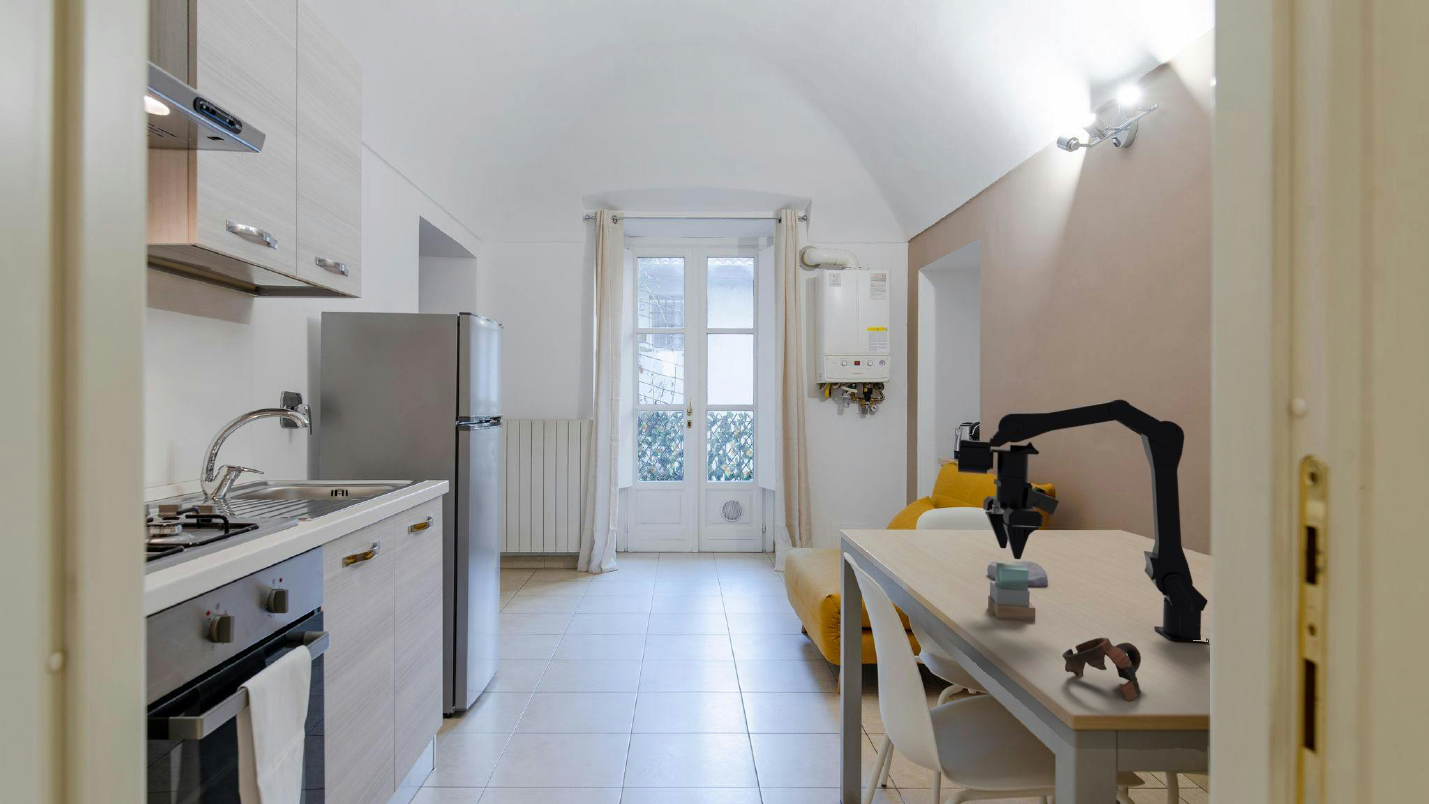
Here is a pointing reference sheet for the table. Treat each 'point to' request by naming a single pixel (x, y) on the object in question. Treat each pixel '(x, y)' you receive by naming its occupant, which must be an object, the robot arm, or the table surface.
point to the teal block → (1012, 576)
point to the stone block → (1035, 573)
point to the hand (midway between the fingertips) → (1010, 553)
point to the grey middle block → (1009, 595)
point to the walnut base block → (1012, 611)
